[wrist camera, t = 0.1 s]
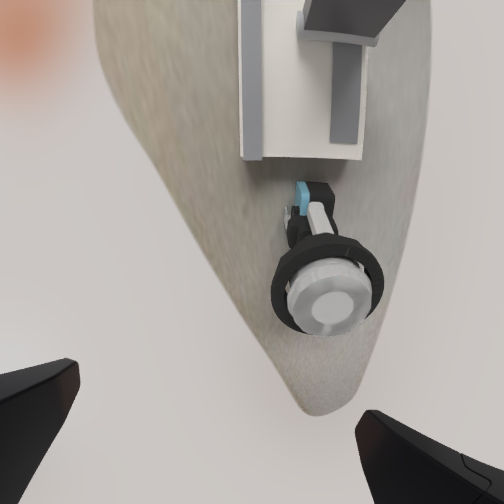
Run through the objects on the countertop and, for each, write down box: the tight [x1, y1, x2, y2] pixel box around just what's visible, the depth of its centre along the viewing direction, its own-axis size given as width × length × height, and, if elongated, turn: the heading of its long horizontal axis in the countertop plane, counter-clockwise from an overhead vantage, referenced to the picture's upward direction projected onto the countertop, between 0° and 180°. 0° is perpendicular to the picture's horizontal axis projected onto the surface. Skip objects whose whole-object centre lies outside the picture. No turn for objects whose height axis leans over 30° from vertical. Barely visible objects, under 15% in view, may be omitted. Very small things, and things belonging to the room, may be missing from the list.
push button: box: [271, 181, 384, 337], centre depth 18 cm, size 7×5×10 cm
